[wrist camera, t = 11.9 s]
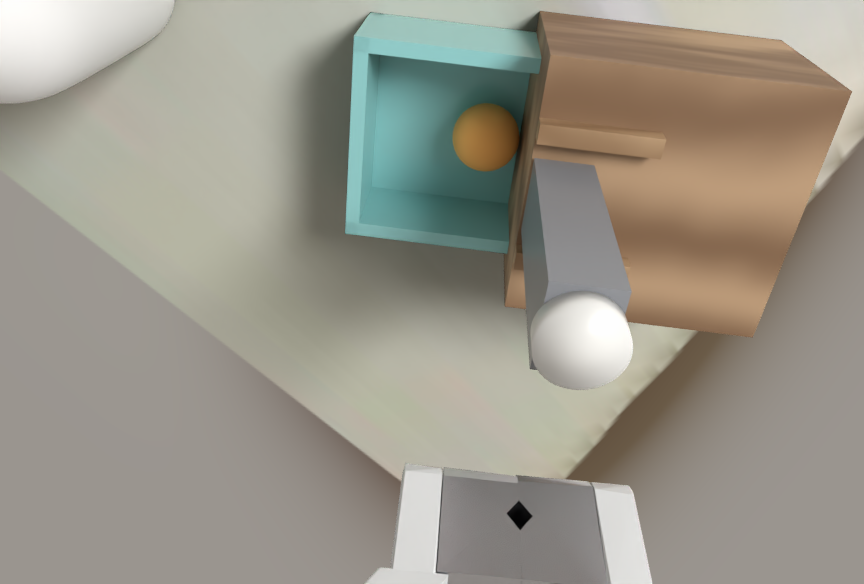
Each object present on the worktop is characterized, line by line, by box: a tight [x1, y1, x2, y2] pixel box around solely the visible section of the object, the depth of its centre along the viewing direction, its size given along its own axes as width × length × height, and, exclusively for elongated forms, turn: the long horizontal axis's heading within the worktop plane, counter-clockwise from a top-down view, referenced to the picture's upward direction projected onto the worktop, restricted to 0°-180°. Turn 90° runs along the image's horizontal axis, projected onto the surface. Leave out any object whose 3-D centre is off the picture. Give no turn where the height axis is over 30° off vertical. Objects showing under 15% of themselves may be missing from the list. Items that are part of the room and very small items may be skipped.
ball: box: [452, 103, 519, 171], centre depth 45 cm, size 4×4×4 cm
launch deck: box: [504, 11, 852, 337], centre depth 42 cm, size 14×14×11 cm
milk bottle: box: [0, 0, 175, 103], centre depth 35 cm, size 8×8×20 cm
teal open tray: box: [345, 12, 542, 254], centre depth 44 cm, size 12×10×6 cm
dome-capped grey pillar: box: [521, 158, 633, 390], centre depth 32 cm, size 4×4×13 cm
